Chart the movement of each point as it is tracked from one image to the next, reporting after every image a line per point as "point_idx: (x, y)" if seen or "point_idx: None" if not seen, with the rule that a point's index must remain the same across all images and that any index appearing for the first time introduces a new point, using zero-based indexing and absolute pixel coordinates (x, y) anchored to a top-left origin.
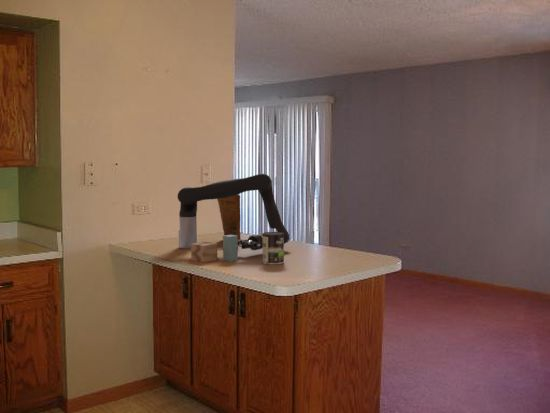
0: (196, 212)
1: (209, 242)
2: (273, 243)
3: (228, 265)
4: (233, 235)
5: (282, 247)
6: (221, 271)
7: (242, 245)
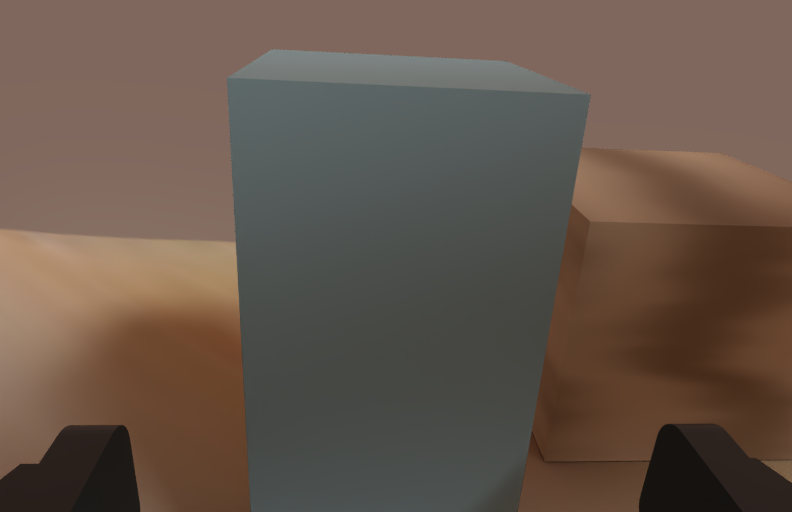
0: None
1: (757, 218)
2: None
3: (135, 351)
4: (349, 74)
5: None
6: (63, 240)
7: (80, 434)
